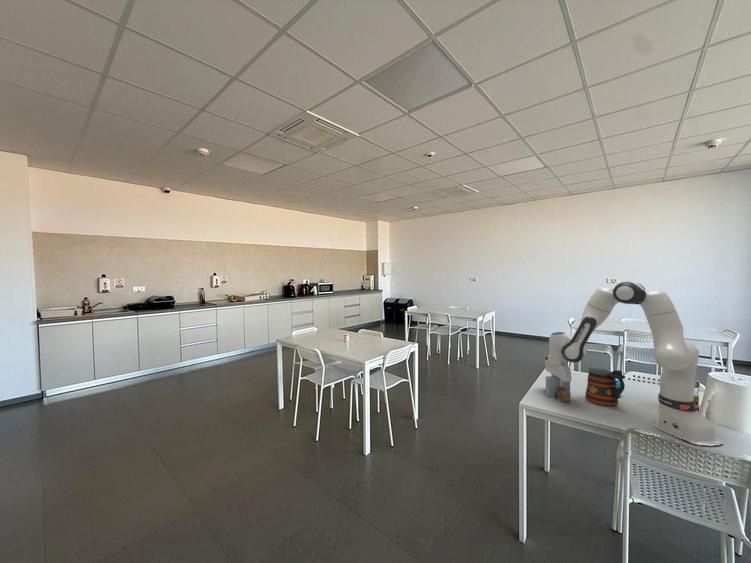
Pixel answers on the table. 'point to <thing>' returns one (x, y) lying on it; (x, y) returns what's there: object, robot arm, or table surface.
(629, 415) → the table surface
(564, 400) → the walnut rail
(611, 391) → the beer stein
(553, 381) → the light blue block
